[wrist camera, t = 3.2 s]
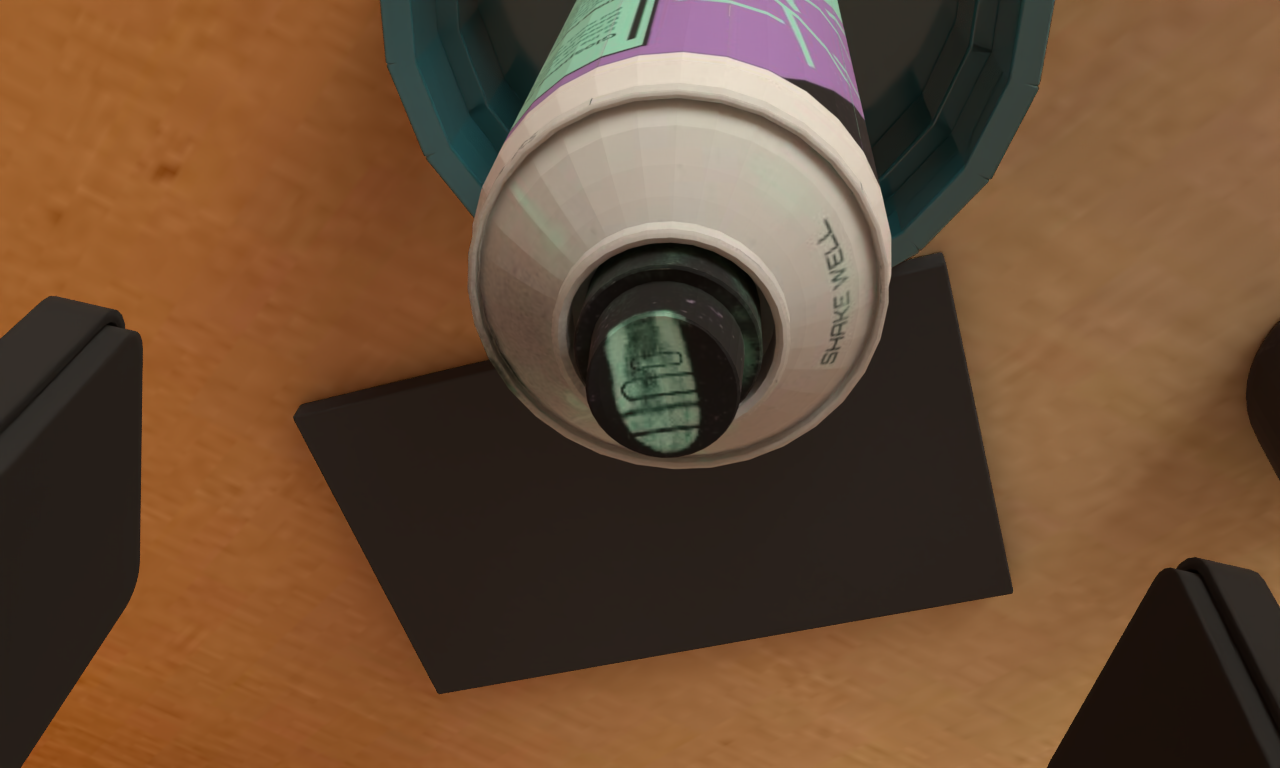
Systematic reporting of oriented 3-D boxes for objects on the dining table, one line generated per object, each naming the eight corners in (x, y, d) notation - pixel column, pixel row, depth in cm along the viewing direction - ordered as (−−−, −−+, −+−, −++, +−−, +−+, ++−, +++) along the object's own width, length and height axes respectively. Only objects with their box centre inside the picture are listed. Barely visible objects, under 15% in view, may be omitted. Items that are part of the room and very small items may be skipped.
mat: (299, 403, 38) (291, 417, 38) (942, 250, 34) (945, 262, 33) (442, 679, 44) (437, 695, 43) (1009, 578, 40) (1014, 594, 39)
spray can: (708, 126, 32) (654, 662, 15) (560, -31, 31) (311, 377, 13) (873, -19, 30) (1026, 418, 13) (723, -198, 28) (673, 38, 11)
